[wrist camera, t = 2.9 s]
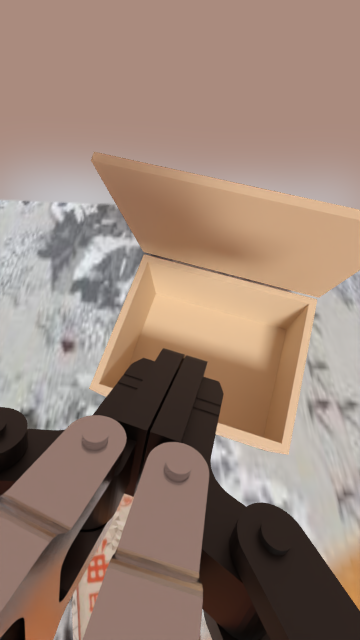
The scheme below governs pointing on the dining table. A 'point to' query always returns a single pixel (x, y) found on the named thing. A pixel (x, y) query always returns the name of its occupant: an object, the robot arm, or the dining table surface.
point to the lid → (235, 226)
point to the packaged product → (97, 570)
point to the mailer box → (219, 343)
